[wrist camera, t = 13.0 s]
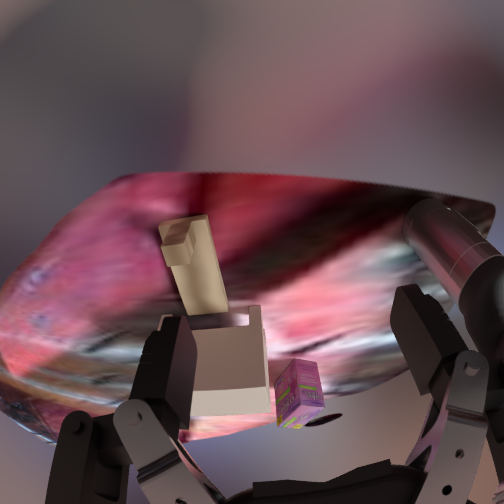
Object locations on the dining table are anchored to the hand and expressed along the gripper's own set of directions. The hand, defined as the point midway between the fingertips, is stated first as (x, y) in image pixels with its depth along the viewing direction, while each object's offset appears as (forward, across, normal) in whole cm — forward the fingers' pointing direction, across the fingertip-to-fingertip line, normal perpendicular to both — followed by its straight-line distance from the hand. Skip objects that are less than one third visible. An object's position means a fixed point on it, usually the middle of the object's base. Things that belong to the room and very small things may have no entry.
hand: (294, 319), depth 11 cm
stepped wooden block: (+30, +12, +17) cm, 37 cm away
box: (+30, -2, +48) cm, 57 cm away
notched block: (+30, +12, +30) cm, 44 cm away
